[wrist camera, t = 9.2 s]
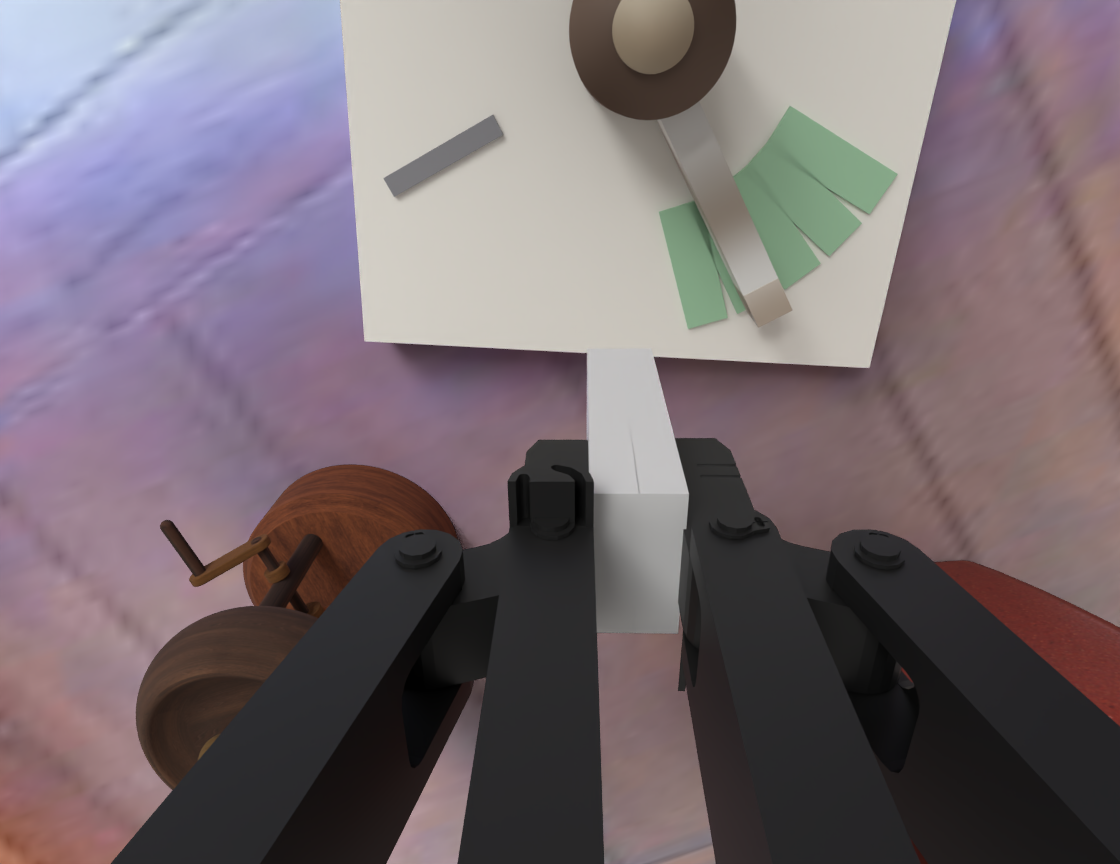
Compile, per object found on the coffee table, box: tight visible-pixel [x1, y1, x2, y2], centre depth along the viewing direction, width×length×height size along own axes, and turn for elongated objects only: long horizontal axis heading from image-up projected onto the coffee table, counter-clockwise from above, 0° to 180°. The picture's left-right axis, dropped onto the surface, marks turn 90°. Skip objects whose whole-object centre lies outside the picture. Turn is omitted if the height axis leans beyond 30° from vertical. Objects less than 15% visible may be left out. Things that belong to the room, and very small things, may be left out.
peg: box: [569, 0, 793, 328], centre depth 25 cm, size 14×5×5 cm, turn 29°
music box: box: [136, 465, 458, 790], centre depth 30 cm, size 15×11×20 cm
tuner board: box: [340, 0, 956, 368], centre depth 27 cm, size 24×22×3 cm
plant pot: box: [901, 560, 1120, 864], centre depth 33 cm, size 19×19×17 cm
